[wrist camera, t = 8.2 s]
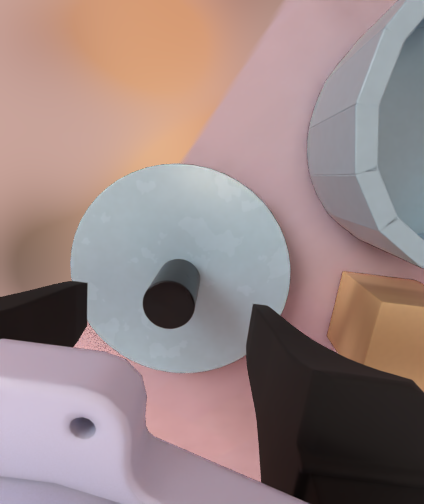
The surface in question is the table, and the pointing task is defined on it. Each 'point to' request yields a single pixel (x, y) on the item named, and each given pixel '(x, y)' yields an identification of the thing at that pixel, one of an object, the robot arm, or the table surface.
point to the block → (380, 324)
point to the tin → (375, 136)
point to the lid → (179, 266)
